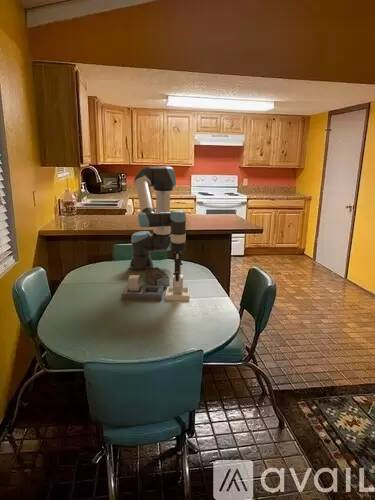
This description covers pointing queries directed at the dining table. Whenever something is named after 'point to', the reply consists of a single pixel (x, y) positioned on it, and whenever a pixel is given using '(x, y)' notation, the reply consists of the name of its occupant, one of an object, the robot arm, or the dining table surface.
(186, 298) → the tray
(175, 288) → the tan rectangular block
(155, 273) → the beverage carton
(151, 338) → the dining table surface
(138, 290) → the beige rectangular block
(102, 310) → the dining table surface
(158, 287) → the rack
